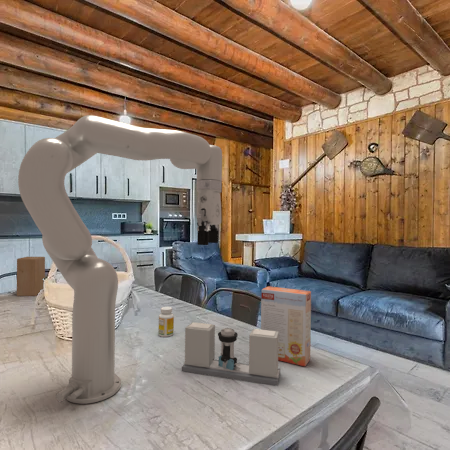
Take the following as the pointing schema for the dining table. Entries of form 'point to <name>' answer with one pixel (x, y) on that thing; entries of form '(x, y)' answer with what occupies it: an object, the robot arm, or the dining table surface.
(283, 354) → the cracker box
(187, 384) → the dining table surface
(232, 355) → the push button
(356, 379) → the dining table surface
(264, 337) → the board
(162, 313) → the supplement bottle
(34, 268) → the wooden block
